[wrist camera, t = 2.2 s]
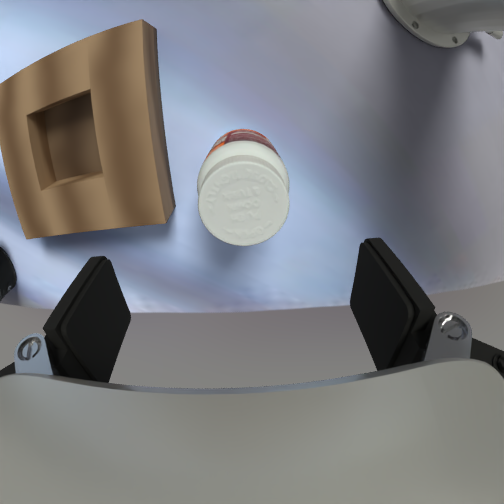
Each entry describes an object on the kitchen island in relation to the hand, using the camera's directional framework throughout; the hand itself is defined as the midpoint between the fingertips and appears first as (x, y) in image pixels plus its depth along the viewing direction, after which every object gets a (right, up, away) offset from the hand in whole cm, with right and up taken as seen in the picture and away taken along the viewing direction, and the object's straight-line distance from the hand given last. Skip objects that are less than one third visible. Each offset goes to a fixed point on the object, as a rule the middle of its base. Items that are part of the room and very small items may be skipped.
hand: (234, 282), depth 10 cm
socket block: (-16, +13, +12) cm, 24 cm away
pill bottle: (0, +10, +15) cm, 18 cm away
